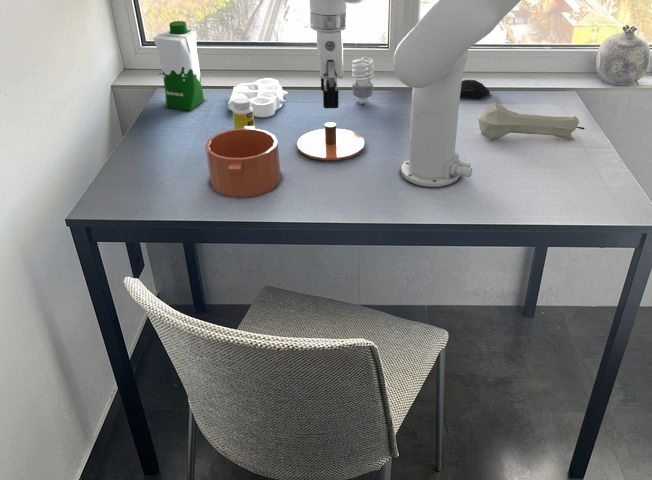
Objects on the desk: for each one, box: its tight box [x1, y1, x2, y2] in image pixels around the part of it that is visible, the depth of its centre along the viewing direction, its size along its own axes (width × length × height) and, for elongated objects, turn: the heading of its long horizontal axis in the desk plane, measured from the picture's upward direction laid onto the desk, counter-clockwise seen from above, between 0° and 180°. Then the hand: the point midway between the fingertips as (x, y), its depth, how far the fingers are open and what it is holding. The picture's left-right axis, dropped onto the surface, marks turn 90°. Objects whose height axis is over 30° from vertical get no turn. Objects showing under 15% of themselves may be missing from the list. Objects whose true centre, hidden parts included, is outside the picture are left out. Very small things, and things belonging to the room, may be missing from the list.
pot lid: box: [296, 122, 365, 161], centre depth 155 cm, size 15×15×6 cm
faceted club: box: [478, 102, 585, 141], centre depth 159 cm, size 9×8×25 cm
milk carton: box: [152, 20, 205, 112], centre depth 171 cm, size 9×9×20 cm
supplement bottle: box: [232, 97, 255, 129], centre depth 160 cm, size 5×5×8 cm
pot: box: [204, 125, 281, 198], centre depth 142 cm, size 14×20×8 cm
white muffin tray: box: [227, 77, 289, 118], centre depth 177 cm, size 3×18×15 cm
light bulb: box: [351, 56, 375, 104], centre depth 174 cm, size 6×6×12 cm
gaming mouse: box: [460, 79, 491, 100], centre depth 181 cm, size 6×15×4 cm, turn 81°
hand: (329, 98), depth 150 cm, fingers open, 9 cm apart
